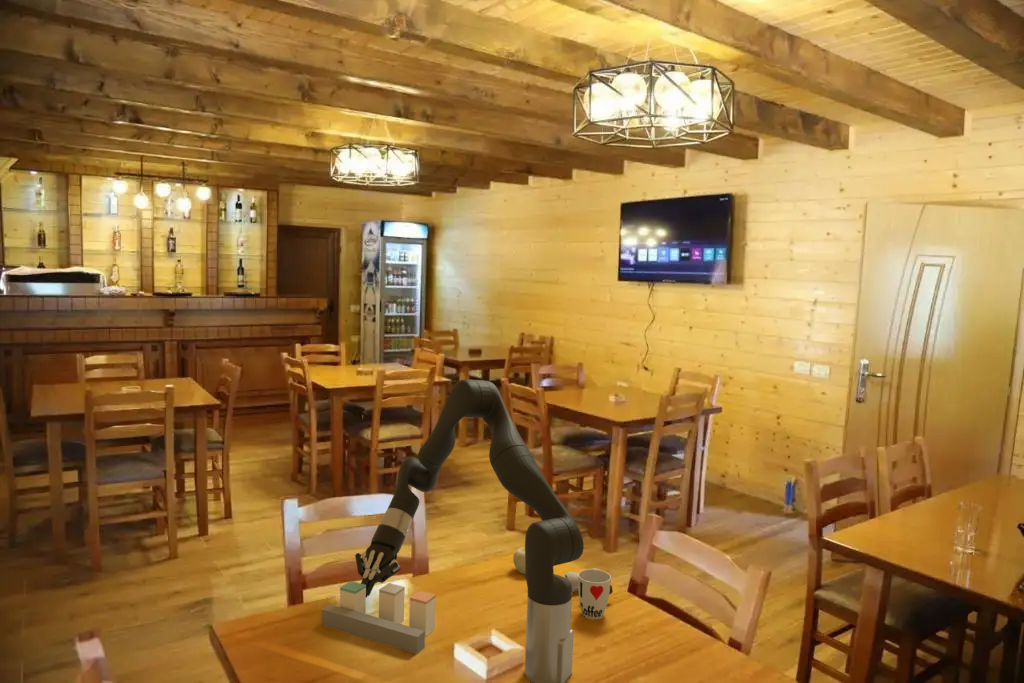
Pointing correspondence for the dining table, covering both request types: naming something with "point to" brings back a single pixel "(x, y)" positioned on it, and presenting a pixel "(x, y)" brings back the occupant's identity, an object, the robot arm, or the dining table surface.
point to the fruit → (520, 559)
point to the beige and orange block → (422, 612)
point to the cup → (593, 592)
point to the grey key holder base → (374, 628)
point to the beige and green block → (353, 596)
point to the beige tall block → (391, 603)
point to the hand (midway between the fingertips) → (362, 595)
